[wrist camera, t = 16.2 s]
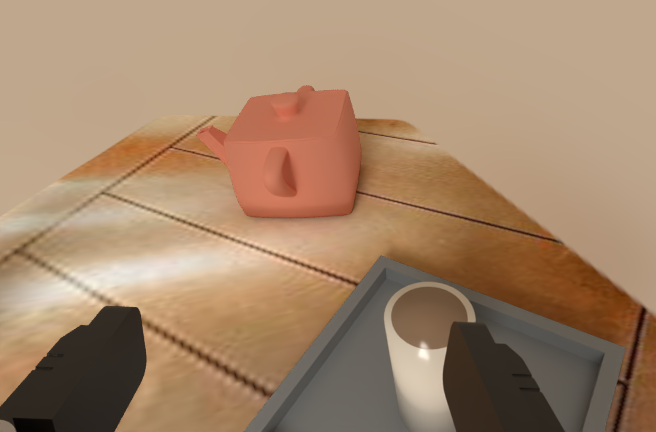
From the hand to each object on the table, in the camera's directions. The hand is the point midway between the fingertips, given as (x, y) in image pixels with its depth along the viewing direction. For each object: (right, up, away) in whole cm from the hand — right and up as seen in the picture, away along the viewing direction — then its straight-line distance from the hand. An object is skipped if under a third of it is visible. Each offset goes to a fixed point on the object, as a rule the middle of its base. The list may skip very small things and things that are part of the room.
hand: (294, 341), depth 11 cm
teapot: (-4, +7, +50) cm, 51 cm away
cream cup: (+9, -12, +24) cm, 28 cm away
